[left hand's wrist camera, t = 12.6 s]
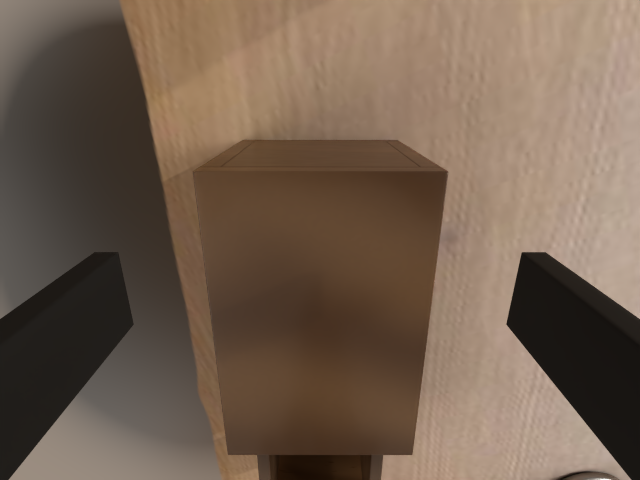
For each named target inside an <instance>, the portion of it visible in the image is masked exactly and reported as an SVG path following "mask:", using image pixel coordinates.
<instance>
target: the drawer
mask: <svg viewBox="0 0 640 480" xmlns="http://www.w3.org/2000/svg"><path fill="white" fill-rule="evenodd" d="M257 458H258V470H259V480H381V473H382V462H383V455H257Z"/></svg>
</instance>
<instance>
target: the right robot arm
mask: <svg viewBox="0 0 640 480" xmlns="http://www.w3.org/2000/svg"><path fill="white" fill-rule="evenodd" d="M562 480H619V479H618V478H616V477H614V476H612V475H609V474H605V473H599V472H588V473H581V474H576V475H572V476H569V477H567V478H564V479H562Z"/></svg>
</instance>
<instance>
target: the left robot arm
mask: <svg viewBox="0 0 640 480" xmlns="http://www.w3.org/2000/svg"><path fill="white" fill-rule="evenodd" d="M132 326H133V319H132V315H131V310H130V305H129V301H128V296H127V292H126V287H125V282H124V278H123V273H122V268H121V264H120V259H119V254H118V252H94V253H93V254H92V255H90V256H89V257H87V258H86V259H85V260H83V261H82V262H80V263H79V264H78V265H76V266H75V267H73V268H72V269H70V270H69V271H68V272H66V273H65V274H63V275H62V276H61V277H59V278H58V279H56V280H55V281H54V282H52V283H51V284H49V285H48V286H46V287H45V288H44V289H42V290H41V291H39V292H38V293H37V294H35V295H34V296H32V297H31V298H30V299H28V300H27V301H25V302H24V303H22V304H21V305H20V306H18V307H17V308H15V309H14V310H13V311H11V312H10V313H8V314H7V315H5V316H4V317H3V318H1V319H0V480H9V478H10V477H11V476H12V475H13V473H14V472H15V471H16V470H17V468H18V467H19V466H20V465H21V463H22V462H23V461H24V460H25V459H26V457H27V456H28V455H29V454H30V452H31V451H32V450H33V449H34V447H35V446H36V445H37V444H38V442H39V441H40V440H41V439H42V437H43V436H44V435H45V434H46V432H47V431H48V430H49V429H50V427H51V426H52V425H53V424H54V423H55V421H56V420H57V419H58V418H59V416H60V415H61V414H62V413H63V411H64V410H65V409H66V408H67V406H68V405H69V404H70V403H71V401H72V400H73V399H74V398H75V396H76V395H77V394H78V393H79V391H80V390H81V389H82V388H83V387H84V385H85V384H86V383H87V382H88V380H89V379H90V378H91V377H92V375H93V374H94V373H95V372H96V370H97V369H98V368H99V367H100V365H101V364H102V363H103V362H104V360H105V359H106V358H107V357H108V355H109V354H110V353H111V352H112V351H113V349H114V348H115V347H116V346H117V344H118V343H119V342H120V340H121V339H122V338H123V337H124V336H125V334H126V333H127V332H128V331H129V329H130V328H131V327H132ZM507 326H508V327H509V328H510V329H511V331H512V332H513V333H514V334H515V336H516V337H517V338H518V339H519V341H520V342H521V343H522V344H523V346H524V347H525V348H526V349H527V351H528V352H529V353H530V354H531V355H532V357H533V358H534V359H535V360H536V362H537V363H538V364H539V365H540V367H541V368H542V369H543V370H544V372H545V373H546V374H547V375H548V377H549V378H550V379H551V380H552V382H553V383H554V384H555V385H556V387H557V388H558V389H559V390H560V391H561V393H562V394H563V395H564V396H565V398H566V399H567V400H568V401H569V403H570V404H571V405H572V406H573V408H574V409H575V410H576V411H577V413H578V414H579V415H580V416H581V418H582V419H583V420H584V421H585V423H586V424H587V425H588V426H589V428H590V429H591V430H592V431H593V432H594V434H595V435H596V436H597V437H598V439H599V440H600V441H601V442H602V444H603V445H604V446H605V447H606V449H607V450H608V451H609V452H610V454H611V455H612V456H613V457H614V459H615V460H616V461H617V462H618V464H619V465H620V466H621V467H622V469H623V470H624V471H625V472H626V473H627V475H628V476H629V477H630V478H631V480H640V319H639V318H637V317H636V316H635V315H633V314H632V313H630V312H629V311H627V310H626V309H625V308H623V307H622V306H620V305H619V304H618V303H616V302H615V301H613V300H612V299H611V298H609V297H608V296H606V295H605V294H603V293H602V292H601V291H599V290H598V289H596V288H595V287H594V286H592V285H591V284H589V283H588V282H587V281H585V280H584V279H582V278H581V277H579V276H578V275H577V274H575V273H574V272H572V271H571V270H570V269H568V268H567V267H565V266H564V265H563V264H561V263H560V262H558V261H557V260H555V259H554V258H553V257H551V256H550V255H548V254H547V253H546V252H522V254H521V259H520V264H519V268H518V273H517V277H516V282H515V287H514V291H513V296H512V301H511V305H510V310H509V315H508V319H507Z"/></svg>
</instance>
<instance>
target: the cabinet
mask: <svg viewBox="0 0 640 480" xmlns="http://www.w3.org/2000/svg"><path fill="white" fill-rule="evenodd" d="M193 176H194V184H195V192H196V200H197V208H198V216H199V224H200V232H201V240H202V248H203V257H204V265H205V273H206V281H207V289H208V297H209V305H210V313H211V321H212V329H213V337H214V345H215V353H216V361H217V370H218V378H219V386H220V394H221V402H222V410H223V418H224V426H225V434H226V442H227V450H228V455H412V453H413V445H414V437H415V429H416V422H417V414H418V406H419V398H420V390H421V382H422V374H423V366H424V359H425V351H426V343H427V335H428V327H429V319H430V311H431V303H432V296H433V288H434V280H435V272H436V264H437V256H438V248H439V240H440V232H441V225H442V217H443V209H444V201H445V193H446V185H447V177H448V171H447V170H445V169H443V168H442V167H440V166H438V165H437V164H435V163H434V162H432V161H430V160H429V159H427V158H425V157H424V156H422V155H421V154H419V153H417V152H416V151H414V150H413V149H411V148H409V147H408V146H406V145H405V144H403V143H401V142H399V141H398V140H243V141H241V142H239V143H238V144H236V145H234V146H233V147H231V148H230V149H228V150H226V151H225V152H223V153H222V154H220V155H218V156H217V157H215V158H214V159H212V160H210V161H209V162H207V163H206V164H204V165H202V166H201V167H199V168H197V169H196V170H194V171H193Z"/></svg>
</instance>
